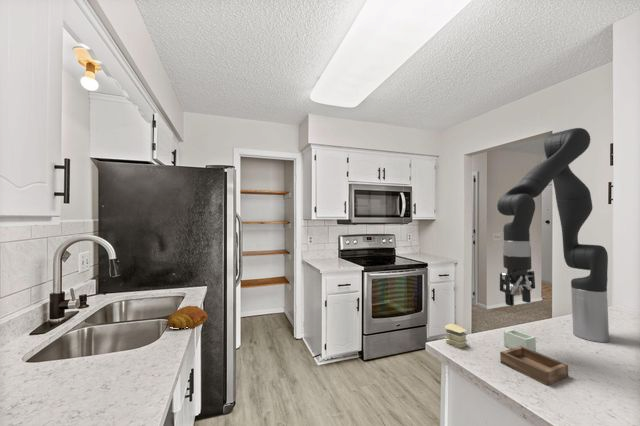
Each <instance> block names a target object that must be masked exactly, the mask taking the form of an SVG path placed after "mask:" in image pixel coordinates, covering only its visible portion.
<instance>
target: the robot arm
mask: <svg viewBox="0 0 640 426" xmlns="http://www.w3.org/2000/svg"><path fill="white" fill-rule="evenodd" d="M590 144H591V136H590V132H588V131H587V130H586V129H585V128H583V127H575V128H569V129H565V130H562V131H561V130H560V131H559V132H554V133H551V134H548V135H547V136H546V138H545V139H544V142H543V147H544V149H543V150H544V153H545V157H546V159H545V160H543V161H542V162H540V163H539V164H537V165H536V166H534V167H533V168H532V169H530V170H529V171H528V172H527V173H526V174H525V175H524V177H523V178H522V179H520V181H519V182H518V184H515V186H513V187H512V188H510V189H509V190H508V191H506V192H505V193H504V194H503V195H501V197H499V199H498V202H497V205H496V207H497V211H498V213H500V214H501V215H503V216H507V217H508V216H511V217H513V216H514V217H513V219H512V221H510V222H507V223H505V224H504V225H503V231H502V232H503V243H502V244H503V245H502V257H503V259H502V261H503V262H502V263H503V268H505V269H506V273H504V272H500V273H499V291H500V292H502V293H504V300H505V301H504V303H505V305H507V306H510V307H512V306H515V296H514V293H515V290H517V289H518V288H519V287H520V288H521V289H522V290H521V297H522V298H521V301H522V302H524V303H529V304H530V303H531V302H532V301H531V299H532V298H531V292H532V290H533V289H534V290H535V289H536V278H535V271H534V270H532V246H531V240H530V229H531V225H532V221H533V217H534V214H535V211H536V202H535V200H534V198H535V199H536V198H537V197H539V196H540V195H541V194H542V193H543V192H544V190H545V189H546V188H547V186H548V185H549V184H550V183H551V182H553V187H554V194H555V200H556V207H557V211H558V216H559V222H560V226H561V235H562V251H563V252H562V253H563V259H564V261H565V264H566V265H567V266H568V267H569V268H572V269H578V270H585V271H590V272H589V275H587V276H583V277H577V278H576V277H575V278H572V279H571V280H570V288H571V291H570V293H571V310H572V311H571V313H572V334H573V335H575V336H576V337H578V338H581V339H584V340H587V341H592V342H597V343H600V342H601V343H607V342H609V341H610V331H609V330H610V327H609V308H608V307H609V305H608V304H609V303H608V302H609V301H608V271H609V269H608V267H609V255H608V251H607V249H606V248H605V246H603V245H598V244H586V243H585V244H583V243H579V232H580V230H581V228H582V226H583V225H584V223H586V221H587V219H588V218H589V217H590V216H591V213H592V211H593V200H592V195H591V190H590V189H589V188H588V186H587V184H585V182H583V181H582V180H581V179H580V178H579V177H578V176H577V175H575V173H574V172H573V171H572V170H571V168H570V165H571V163H573V162H574V161H575V160H576V159H578V158H580V156H582V155H583V154H584V153H585V152H586V150H588V148H589V147H590Z"/></svg>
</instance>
